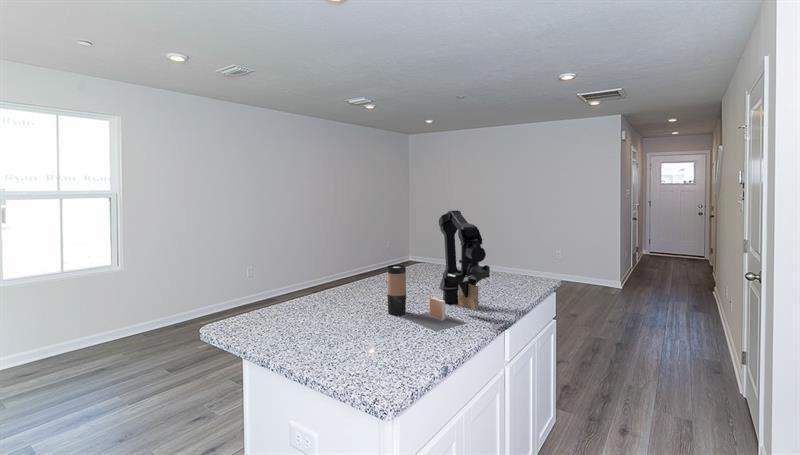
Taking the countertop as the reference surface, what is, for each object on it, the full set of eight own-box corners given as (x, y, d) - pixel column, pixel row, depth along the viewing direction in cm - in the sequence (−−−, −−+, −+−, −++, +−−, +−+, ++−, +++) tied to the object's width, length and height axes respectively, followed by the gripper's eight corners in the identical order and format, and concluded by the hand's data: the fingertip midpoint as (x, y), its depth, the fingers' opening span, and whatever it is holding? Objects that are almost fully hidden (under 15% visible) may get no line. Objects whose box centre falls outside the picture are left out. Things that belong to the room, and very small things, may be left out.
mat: (403, 319, 168) (402, 318, 168) (433, 312, 178) (433, 311, 178) (436, 332, 152) (436, 331, 152) (467, 324, 162) (468, 323, 162)
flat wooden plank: (458, 304, 173) (458, 283, 172) (461, 304, 174) (462, 282, 173) (474, 309, 165) (474, 287, 164) (478, 309, 166) (478, 286, 166)
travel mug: (409, 312, 177) (408, 265, 175) (401, 317, 170) (401, 268, 168) (392, 310, 180) (392, 264, 178) (384, 315, 173) (383, 267, 172)
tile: (429, 315, 171) (429, 297, 170) (432, 315, 172) (432, 297, 171) (442, 320, 165) (442, 301, 164) (445, 319, 166) (445, 300, 165)
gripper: (466, 263, 156) (465, 304, 157) (500, 258, 167) (499, 297, 168) (445, 259, 165) (445, 298, 166) (479, 254, 176) (478, 291, 177)
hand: (468, 296), depth 169 cm, fingers closed on flat wooden plank, 2 cm apart
